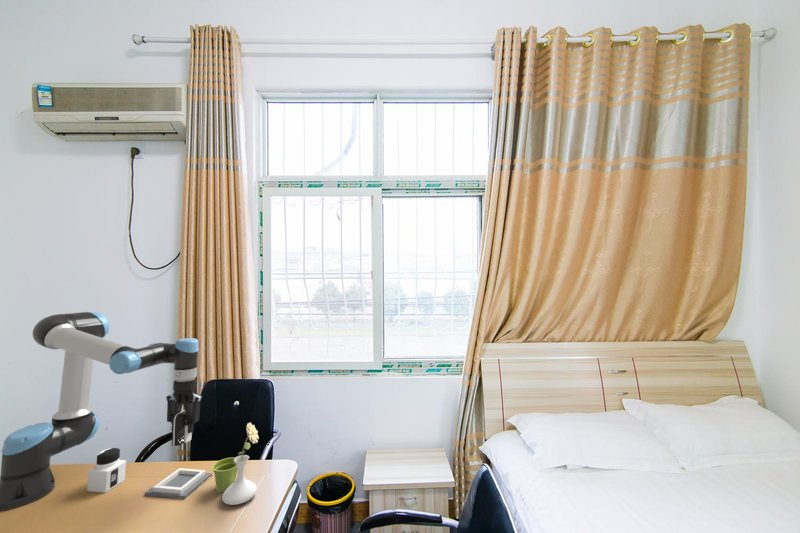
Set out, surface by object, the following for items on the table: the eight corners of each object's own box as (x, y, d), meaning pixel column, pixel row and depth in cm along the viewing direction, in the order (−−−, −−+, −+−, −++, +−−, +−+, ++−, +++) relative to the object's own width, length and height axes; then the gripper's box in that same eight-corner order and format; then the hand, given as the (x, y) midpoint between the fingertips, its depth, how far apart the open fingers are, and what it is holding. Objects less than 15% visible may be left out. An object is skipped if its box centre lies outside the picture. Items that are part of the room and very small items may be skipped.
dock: (144, 495, 116) (144, 488, 116) (175, 472, 130) (175, 466, 130) (184, 499, 114) (185, 491, 114) (211, 476, 128) (212, 469, 128)
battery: (181, 446, 119) (182, 415, 120) (170, 447, 119) (172, 415, 120) (192, 438, 126) (194, 408, 127) (183, 438, 126) (184, 408, 127)
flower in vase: (242, 511, 109) (245, 435, 110) (214, 506, 111) (217, 432, 112) (266, 487, 121) (268, 420, 123) (239, 483, 124) (242, 417, 125)
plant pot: (205, 492, 118) (206, 468, 118) (225, 478, 127) (226, 455, 127) (224, 497, 115) (226, 473, 116) (244, 482, 124) (245, 459, 125)
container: (125, 480, 124) (127, 446, 125) (105, 493, 117) (107, 456, 118) (107, 479, 125) (109, 445, 126) (86, 491, 117) (88, 455, 118)
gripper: (156, 380, 122) (153, 443, 120) (198, 382, 120) (195, 447, 118) (173, 375, 129) (169, 434, 128) (212, 377, 127) (209, 437, 126)
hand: (182, 440), depth 123 cm, fingers closed on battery, 4 cm apart
